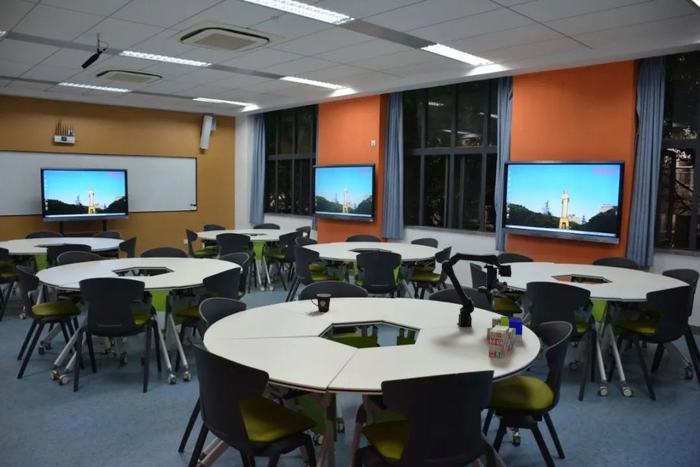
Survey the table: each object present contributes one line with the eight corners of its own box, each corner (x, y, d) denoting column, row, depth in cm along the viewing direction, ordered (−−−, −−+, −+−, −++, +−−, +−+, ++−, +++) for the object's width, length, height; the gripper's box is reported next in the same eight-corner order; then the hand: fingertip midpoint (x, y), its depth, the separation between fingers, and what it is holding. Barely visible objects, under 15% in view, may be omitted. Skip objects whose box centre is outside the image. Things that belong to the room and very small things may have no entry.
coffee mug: (333, 310, 328) (333, 294, 328) (325, 313, 321) (325, 297, 320) (318, 308, 335) (318, 292, 334) (310, 310, 327) (310, 294, 327)
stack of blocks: (500, 344, 262) (501, 320, 261) (513, 347, 259) (514, 322, 258) (488, 356, 244) (489, 330, 242) (502, 359, 240) (503, 332, 239)
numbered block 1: (496, 331, 286) (496, 320, 286) (491, 328, 291) (492, 317, 291) (504, 331, 287) (505, 319, 287) (500, 328, 292) (500, 317, 292)
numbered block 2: (491, 342, 265) (492, 330, 265) (486, 339, 271) (487, 327, 270) (500, 342, 266) (501, 330, 266) (495, 339, 271) (496, 327, 271)
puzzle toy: (521, 341, 268) (522, 322, 267) (501, 340, 270) (502, 320, 269) (519, 336, 278) (520, 317, 277) (500, 334, 280) (501, 316, 279)
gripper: (495, 280, 280) (494, 309, 281) (513, 276, 293) (512, 304, 294) (477, 277, 288) (476, 305, 290) (495, 273, 301) (494, 300, 302)
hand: (490, 304), depth 294 cm, fingers closed
